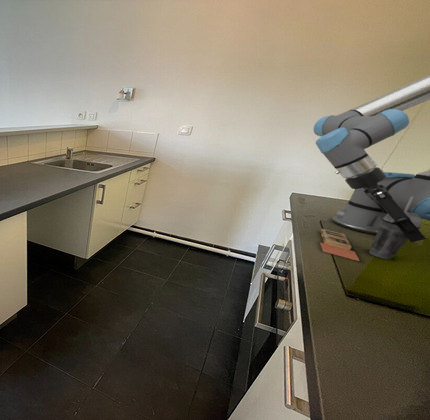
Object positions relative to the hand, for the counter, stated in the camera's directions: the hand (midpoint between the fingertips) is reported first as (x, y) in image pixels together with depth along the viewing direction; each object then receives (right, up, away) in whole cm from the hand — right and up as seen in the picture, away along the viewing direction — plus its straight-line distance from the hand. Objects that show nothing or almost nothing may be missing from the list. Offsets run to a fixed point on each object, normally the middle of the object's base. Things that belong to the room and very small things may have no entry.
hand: (412, 235), depth 74 cm
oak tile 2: (-11, -4, +11) cm, 16 cm away
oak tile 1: (-6, -2, +16) cm, 17 cm away
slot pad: (-15, -6, +6) cm, 17 cm away
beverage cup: (-3, -7, +5) cm, 9 cm away
